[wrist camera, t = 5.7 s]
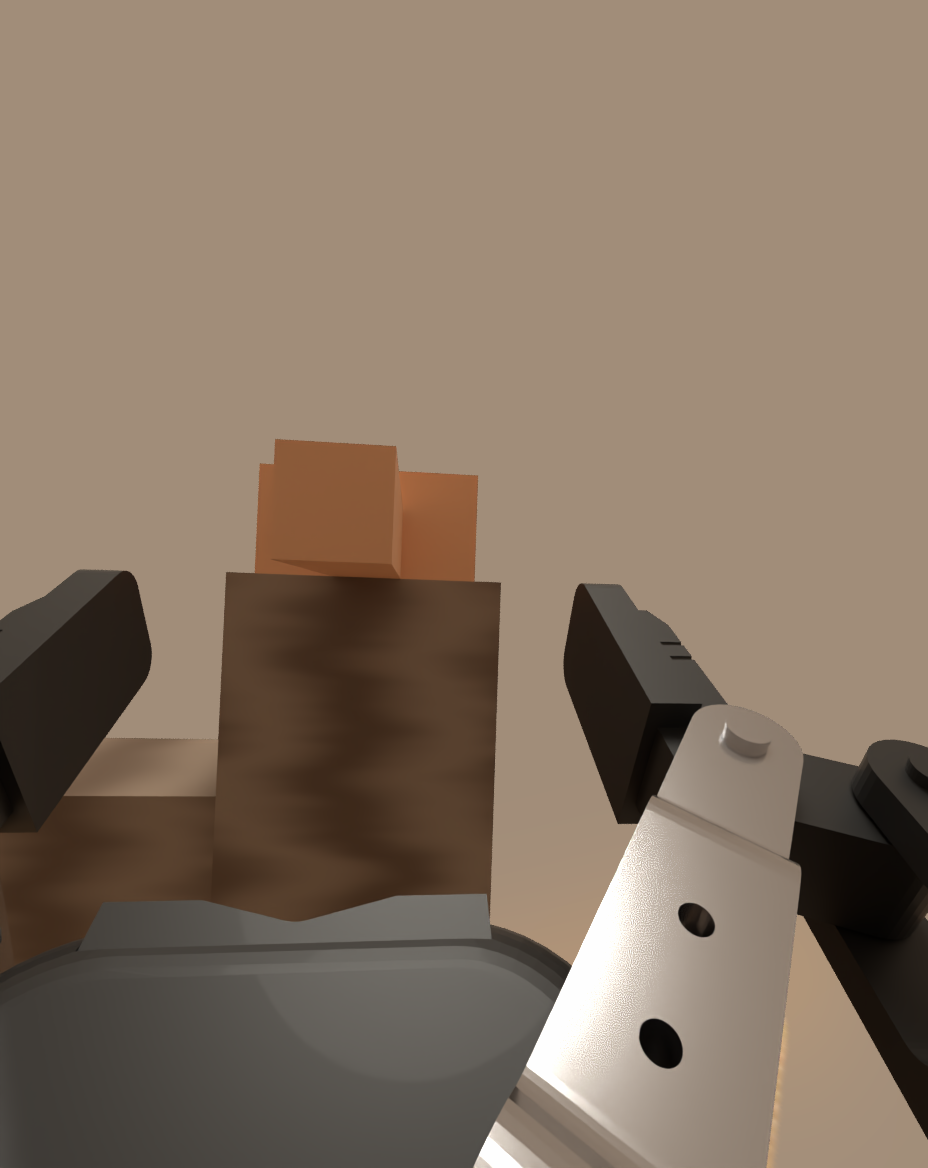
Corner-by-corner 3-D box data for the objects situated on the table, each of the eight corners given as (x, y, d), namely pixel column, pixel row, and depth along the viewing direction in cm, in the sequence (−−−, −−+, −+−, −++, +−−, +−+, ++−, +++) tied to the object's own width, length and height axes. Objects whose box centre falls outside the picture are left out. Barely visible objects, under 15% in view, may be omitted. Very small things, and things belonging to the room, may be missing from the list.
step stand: (-135, 1534, 18) (-74, 560, 19) (30, 1251, 26) (67, 571, 27) (471, 1470, 20) (500, 582, 21) (454, 1223, 28) (476, 586, 29)
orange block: (130, 553, 11) (140, 358, 11) (299, 580, 28) (302, 501, 28) (520, 569, 12) (526, 384, 12) (457, 586, 29) (460, 509, 29)
